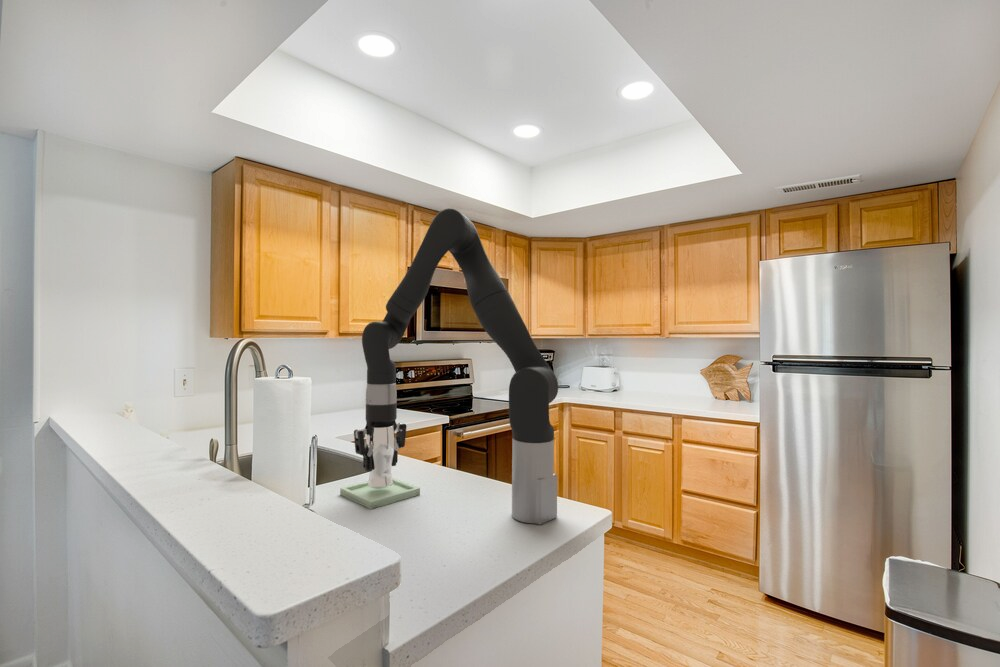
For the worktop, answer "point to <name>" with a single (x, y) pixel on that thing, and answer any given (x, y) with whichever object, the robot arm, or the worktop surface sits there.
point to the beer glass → (381, 456)
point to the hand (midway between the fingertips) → (380, 467)
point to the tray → (379, 493)
